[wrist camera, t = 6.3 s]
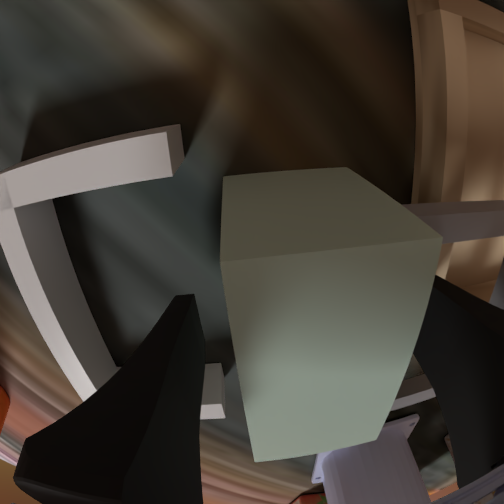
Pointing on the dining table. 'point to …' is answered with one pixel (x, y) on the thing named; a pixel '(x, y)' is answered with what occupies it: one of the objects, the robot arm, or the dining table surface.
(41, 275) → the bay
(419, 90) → the tray
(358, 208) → the tall sage green box
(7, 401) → the paper cup
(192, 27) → the dining table surface
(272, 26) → the dining table surface
